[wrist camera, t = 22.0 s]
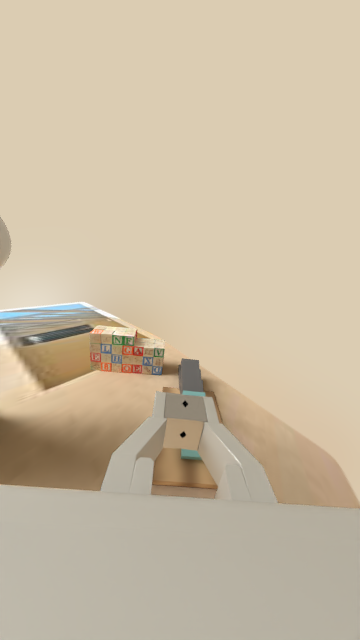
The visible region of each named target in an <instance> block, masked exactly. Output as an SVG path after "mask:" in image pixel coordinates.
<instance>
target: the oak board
mask: <svg viewBox="0 0 360 640" xmlns="http://www.w3.org/2000/svg"><path fill="white" fill-rule="evenodd" d="M163 392H165V393H166V392H168V393H175V394H180V389H178V388H168V387H163ZM203 392H204V393H205V397H212V398H213V401H214V405H215V408H216V412H217V416H218V420H219V423H221V424H222V421H221V417H220V413H219V410H218V406H217V403H216V399H215V395H214V392H209V391H203ZM152 484H154V485H169V486H183V487H197V488H212V489H218V486H217V484H216V482H215V481H214V479H213V477H212V476H211V474H210V472H209V470H208V469H207V467H206V465H205V464H204V462H203V460H193V459H181V449H177V448H163V449H162V450H161V452H160V454H159V455H158V457H157V458H156V460H155V465H154V473H153V482H152Z"/></svg>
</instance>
